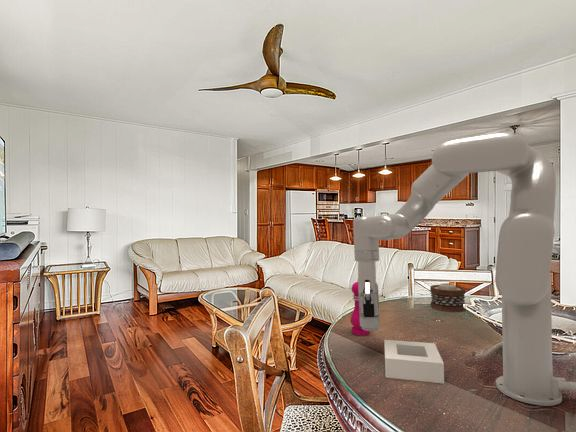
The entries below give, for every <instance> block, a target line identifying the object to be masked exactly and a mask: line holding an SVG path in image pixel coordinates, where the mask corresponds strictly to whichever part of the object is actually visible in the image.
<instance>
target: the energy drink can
mask: <svg viewBox="0 0 576 432" xmlns="http://www.w3.org/2000/svg"><path fill="white" fill-rule="evenodd" d="M358 290H359V286H358ZM370 293H371V291H370ZM363 303H364V296H363V293H361V294H359V313H360V326H361V327H362V329H363V330H366V331H370V332H375V331H378V330H379V328H380V327H381V320H380V299H379V284H378V283H377V282H376V287H375V293H374V294H373V304H374V314H375V317H364V313H363Z"/></svg>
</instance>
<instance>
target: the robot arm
mask: <svg viewBox="0 0 576 432" xmlns="http://www.w3.org/2000/svg"><path fill="white" fill-rule="evenodd" d="M431 156H432V157H431V165H430V166H429V167H427V168H426V169H425V170H424V171H423V173H421V174H420V175H419V177H417V178H416V179H415V180H414V181H413V183H412V184H411V190H410V196H409V197H408V199H407V201H406V202H405V203H404V204H403V205H402V206H401V207H400V208H399V209H398V210H397V211H396V212H395V213H394V214H381V215H375V216H357V217H355V218H354V219H353V221H352V224H353V227H352V228H353V249H354V253H353V255H354V262H357V274H358V277H357V279H358V281H357V282H358V286H359V294H361V293H363V296H364V303H363V313H364V317H375V314H374V304H373V294H374V293H375V287H376V283H377V266H376V265H377V264H376V262H379V261H380V246H379V245H380V243H379V240H380V241H391V240H397V239H402V238H404V237H406V236H407V235H408V234H409V233H410V232H411V231H413V230H414V229H415V228H416V227H418V225H419V224H421V223H422V221H423V220H425V218H426V217H427V216H428V215H429V213H430V212H431V211H433V209H434V208H435V206H436V205H437V203H439V202H440V201H441V200H442V199H443V198H444V197H445V196H447V194H449V193H450V192H452V190H453V189H454V188H456V187H457V186H458V185H459V183H461V182H462V181H463V180H464V179H465V178H466V177H468V176H469V175H470V174H472V173H473V174H475V173H486V172H497V173H500V174H502V175H506V176H508V178H509V179H510V180H511V190H510V202H509V203H510V205H509V212H508V216H507V218H505V219H504V221H503V222H502V224H501V226H500V229H499V234H498V242H497V243H498V244H497V252H496V254H497V255H496V264H495V277H494V282H495V286H496V289H497V291H498V293H499V294H500V295H501V297H502V299H501V321H502V322H501V323H502V324H501V326H502V329H501V330H502V331H501V332H502V333H501V334H502V338H501V339H502V375H500V376H499V377H497V378H496V380H495V387H496V388H497V389H498V391H500V392H501V393H502V394H504V395H505V396H507V397H509V398H511V399H513V400H515V401H518V402H522V403H526V404H528V405H529V404H530V405H534V406H540V407H543V406H544V407H549V406H551V407H552V406H556V405H559V404H561V403H562V402H563V395H562V392H563V391H569V392H576V381H567V379H566V378H565V377H559V376H558V377H557V376H554V375H553V374H554V373H553V342H552V341H553V337H552V336H553V334H552V329H553V328H552V327H553V326H552V325H553V324H552V323H553V322H552V276H551V266H552V257H553V250H554V249H553V248H554V239H555V233H556V231H555V230H556V229H555V224H554V222H555V211H556V210H555V209H556V196H557V195H556V193H557V176H556V171H555V168H554V165H553V164H552V162H551V161H550V159H549V158H548V157H547V156H546V155H545V154H544V153H543V152H541V151H540V150H538V149H536V148H535V147H532V146H531V145H529V144H528V143H527V142H526V140H525V139H524V138H523V137H522V136H520V135H518V134H515V133H513V132H498V133H497V132H496V133H491V134H485V135H478V136H471V137H470V136H469V137H464V138H457V139H455V138H454V139H450V140H447V141H444V142H443V143H442V142H441V144H439V145H438V146H437V147H436V148H435V149H434V150H433V153H432V155H431ZM370 291H371V293H370Z"/></svg>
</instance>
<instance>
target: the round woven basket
mask: <svg viewBox="0 0 576 432" xmlns="http://www.w3.org/2000/svg"><path fill="white" fill-rule="evenodd" d="M465 294H466V288H465V287H463V286H460V285H456V284H453V283H440V284H433V285H431V286H430V297H431V298H430V299H431V301H430V308H431V309H433V310H435V311H439V312H444V313H463V312H465V311H466V309H464V308H463V304H465V305H466V296H465Z"/></svg>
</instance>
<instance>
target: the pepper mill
mask: <svg viewBox="0 0 576 432" xmlns="http://www.w3.org/2000/svg"><path fill="white" fill-rule="evenodd" d="M356 279H357V281H356V282H354V283H352V285H351V291H352V294H353V295H352V297H353V300H354V308H353V311H352V313H351V315H350V323H351V325H352V327H351V333H352V334H353V335H356V336H369V334H370V332H371V331H366V330H363V329H362V327H361V326H360V313H359V290H358V278H356Z"/></svg>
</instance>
